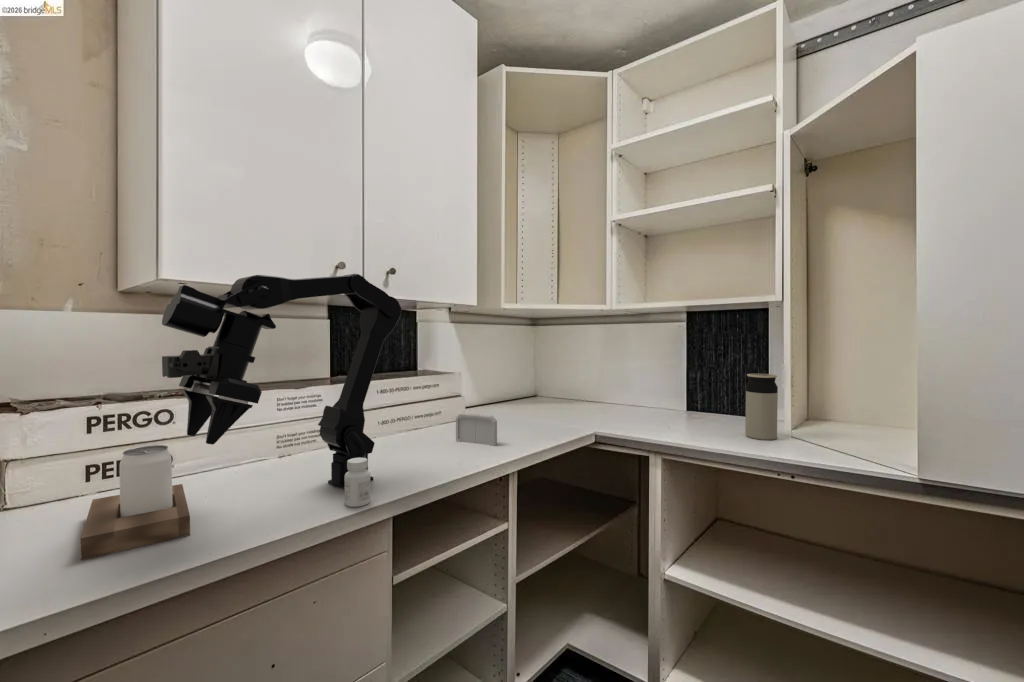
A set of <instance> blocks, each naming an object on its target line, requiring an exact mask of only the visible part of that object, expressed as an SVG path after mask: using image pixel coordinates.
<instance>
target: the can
mask: <svg viewBox="0 0 1024 682" xmlns="http://www.w3.org/2000/svg"><path fill="white" fill-rule="evenodd" d="M168 448H169V447H168V445H164V444H163V445H162V444H161V445H160V444H158V445H157V444H155V445H154V444H153V445H145V446H139V447H134V448H130V449H126V450H124V451H123V452H122V455H123V456H122V458H121V460H120V462H119V495H120V515H121V518H122V517H127V516H132V515H137V514H142V513H147V512H153V511H158V510H163V509H168V508H173V505H172V486H173V464H172V463H173V462H172V454H171V453H170V451H169V450H168Z"/></svg>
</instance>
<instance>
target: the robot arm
mask: <svg viewBox="0 0 1024 682" xmlns="http://www.w3.org/2000/svg"><path fill="white" fill-rule="evenodd" d="M337 295H344V296H345V297H347V299H348V300H349V302H350V303H351V305H352V306H353V307H354V308H355V309H356V310H358V311H359V312H360V315H359V321H358V322H359V327H360V328H359V329H360V336H359V340H358V342H357V346H356V349H355V351H354V354H353V356H352V361H351V363H350V366H349V369H348V372H347V375H346V378H345V381H344V384H343V387H342V389H341V393H340V395H339V398H338V400H337V401H336V402H335V403H334V404H333V406H331V405H325V406H324V408H323V412H322V413H323V414H322V417H321V419H320V421H318V422H319V423H318V424H317V425H318V426H320V427H319V436H320V438H321V439H322V441H323V442H324V443H326V444H327V447H328V449H329V451H333V452H335V453H332V461H331V463H330V464H331V466H330V467H331V468H330V470H331V471H330V472H331V474H330V475H331V479H329V480H327V484H329V485H333V486H337V487H341V488H344V489H345V474H346V473H347V472H348V471H349V470H348V469H347V461H348V460H349V459H352V458H366V459H367V460H368V461H369V454H372V453H373V451H374V447H375V441H374V440H372V439H371V438H370V437H369V436H368V435H367V434H365V432H364V428H365V422H366V418H365V410H364V403H365V400H366V397H367V394H368V390H369V388H370V384H371V382H372V378H373V375H374V372H375V369H376V366H377V364H378V359H379V357H380V353H381V351H382V348H383V345H384V342H385V340H386V338H387V337H389V335H390V334H391V332H393V331H394V329H395V328H396V325H397V324H398V322H399V320H400V318H401V316H402V308H403V307H402V306H401V304H400V303H399V301H398V300H397V298H395V297H394V296H390V295H389V294H388V293H386V291H384V290H383V289H381V288H379V287H378V286H375V285H374V284H373V283H371V282H369V281H368V280H367V279H366V278H365V277H364V276H362V275H361V274H359V273H350V274H344V275H334V276H321V277H306V278H288V277H287V278H286V277H283V276H276V275H275V276H274V275H266V274H255V275H254V274H253V275H251V276H245V277H241V278H238V279H236V280H235V282H234V283H233V284H232V286H231V287H230V290H228V291H227V292H225V293H223V294H219V295H218V297H216V296H214V295H210V294H208V293H205V292H202V291H200V290H197V289H196V288H194V287H192V286H189V285H187V284H183V285H180V286H178V289H177V292H176V293H175V295H174V296H173V297H172V298H171V300H170V302H169V303H168V304H167V305H166V307H165V309H164V312H163V314H162V319H161V324H162V326H164V327H168V328H170V329H175V330H177V331H181V332H185V333H188V334H192V335H195V336H199V337H203V338H205V337H207V336H208V335H209V334H215V333H216V332H217V331H218V332H217V333H216V338H215V340H214V342H213V344H212V346H208V347H206V348H205V349H204V351H203V354H201V353H200V352H199V350H198V349H196V350H195V349H193V350H192V349H190V350H186V349H183V350H181V353H180V354H179V355H162V356H161V364H162V365H161V367H162V368H161V369H162V377H163V378H164V377H166V378H168V379H173V378H174V379H177V378H181V379H180V381H179V385H178V386H179V387H181V389H180V392H181V393H182V395H184V397H185V398H186V399H187V401H188V411H187V412H188V413H187V423H186V424H187V425H186V426H187V427H186V435H187V436H191V437H195V436H196V435H197V434H198V433H199V432H200V431H201V429H202V428H203V426H204V425H205V424H206V423H207V421H208V420H209V423H208V428H207V433H206V437H205V443H206V445H207V444H208V445H215V444H216V443H217V442H218V441H219V440H220V439H221V438H222V436H223V435H224V434H225V433H226V432H227V431H228V430H229V429H230V428H231V427H232V426H233V425H234V424H235V423H236V422H237V421H238V420H239V419H240V418H241V417H242V416H243V415H244V414H245V413H247V412H248V411H249V410H250V409H252V408H253V404H257V405H258V404H259V401H260V398H261V395H262V393H263V392H262V390H261V388H260V386H259V385H258V384H255V383H250V382H248V380H245V379H244V377H245V375H246V371H247V369H248V367H249V364H254V363H255V359H256V356H253V353H254V350H255V346H256V345H257V341H258V338H259V335H260V333H261V331H262V329H265V330H273V329H274V330H275V329H276V328H277V325H276V324H275V322H274V321H273V319H272V318H271V315H270V313H266V314H265V313H263V314H261V315H258V314H256V313H252V312H250V310H254V311H255V310H266V309H269V308H272V307H275V306H279V305H282V304H286V303H289V302H292V301H294V300H298V299H308V298H317V297H327V296H337ZM233 308H240V309H243V310H242V311H240V312H239V313H237V312H233V311H231V310H228V309H233ZM182 388H186V389H182ZM250 403H252V404H250ZM366 470H368V471H369V465H368V466H367V468H366ZM372 480H374V476H371V475H370V482H371V481H372Z"/></svg>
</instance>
